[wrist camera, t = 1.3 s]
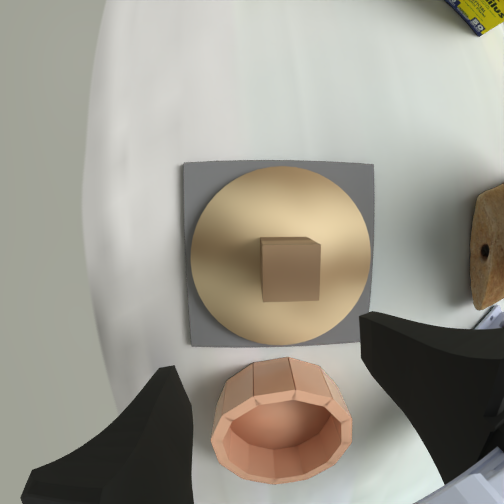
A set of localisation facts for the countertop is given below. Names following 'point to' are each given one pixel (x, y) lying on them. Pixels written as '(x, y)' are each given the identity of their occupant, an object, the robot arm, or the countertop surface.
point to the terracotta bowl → (280, 422)
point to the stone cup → (488, 249)
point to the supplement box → (480, 13)
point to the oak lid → (280, 255)
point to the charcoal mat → (223, 172)
